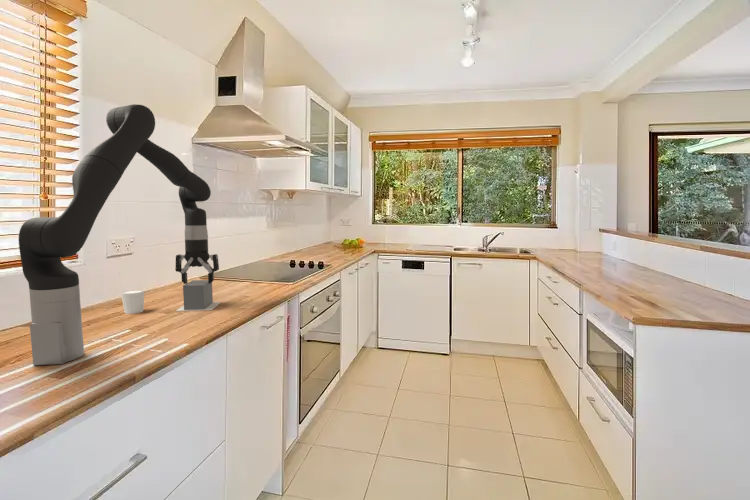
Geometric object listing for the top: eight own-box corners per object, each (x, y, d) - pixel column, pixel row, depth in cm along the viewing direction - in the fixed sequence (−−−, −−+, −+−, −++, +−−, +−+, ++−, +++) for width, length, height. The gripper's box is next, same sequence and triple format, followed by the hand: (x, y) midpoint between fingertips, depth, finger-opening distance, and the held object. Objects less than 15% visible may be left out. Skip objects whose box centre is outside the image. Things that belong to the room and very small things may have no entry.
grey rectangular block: (204, 310, 144) (203, 285, 143) (184, 310, 143) (182, 285, 142) (212, 303, 155) (211, 279, 154) (193, 303, 154) (192, 280, 153)
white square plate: (211, 310, 144) (211, 309, 144) (175, 311, 142) (175, 310, 142) (220, 302, 156) (220, 301, 156) (187, 303, 154) (187, 302, 154)
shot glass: (135, 314, 138) (133, 294, 137) (117, 313, 139) (116, 293, 138) (150, 309, 144) (149, 290, 144) (133, 308, 146) (132, 289, 145)
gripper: (171, 238, 142) (173, 285, 143) (214, 238, 144) (215, 284, 145) (179, 237, 149) (180, 282, 151) (219, 237, 151) (221, 281, 152)
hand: (198, 283), depth 148 cm, fingers open, 8 cm apart
